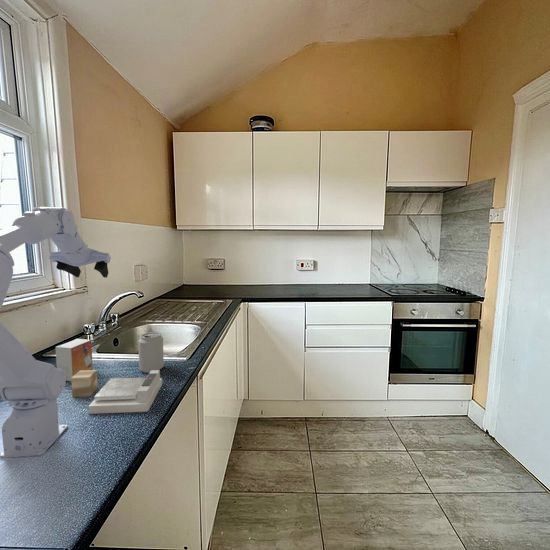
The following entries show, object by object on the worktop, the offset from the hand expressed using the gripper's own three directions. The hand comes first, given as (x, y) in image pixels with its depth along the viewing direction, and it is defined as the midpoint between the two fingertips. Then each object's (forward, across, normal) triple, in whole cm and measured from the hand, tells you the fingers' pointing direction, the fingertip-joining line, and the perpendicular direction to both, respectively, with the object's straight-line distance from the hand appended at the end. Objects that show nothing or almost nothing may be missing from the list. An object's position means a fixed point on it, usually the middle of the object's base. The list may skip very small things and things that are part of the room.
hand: (92, 274), depth 89 cm
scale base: (+12, -13, +32) cm, 37 cm away
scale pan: (+11, -11, +30) cm, 34 cm away
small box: (+24, +8, +22) cm, 34 cm away
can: (+26, -14, +20) cm, 36 cm away
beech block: (+15, 0, +30) cm, 33 cm away
